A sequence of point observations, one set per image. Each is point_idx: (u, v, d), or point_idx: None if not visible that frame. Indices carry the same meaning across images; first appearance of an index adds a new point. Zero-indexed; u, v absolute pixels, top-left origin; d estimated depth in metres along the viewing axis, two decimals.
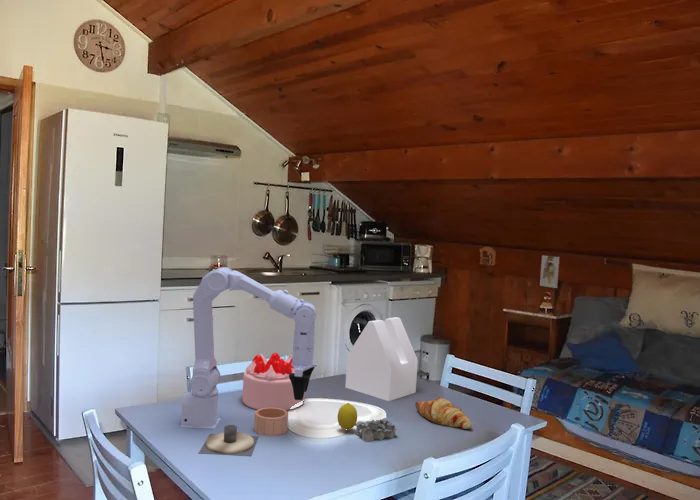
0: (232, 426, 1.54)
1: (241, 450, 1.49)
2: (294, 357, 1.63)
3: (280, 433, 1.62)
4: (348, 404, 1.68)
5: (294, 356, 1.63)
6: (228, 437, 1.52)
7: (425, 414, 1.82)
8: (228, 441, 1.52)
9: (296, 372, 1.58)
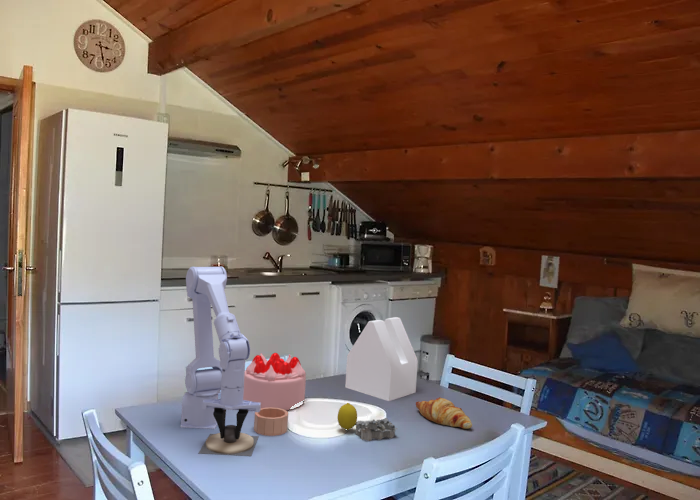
0: (232, 426, 1.54)
1: (241, 450, 1.49)
2: None
3: (280, 433, 1.62)
4: (348, 404, 1.68)
5: None
6: (228, 437, 1.52)
7: (425, 414, 1.82)
8: (228, 441, 1.52)
9: None
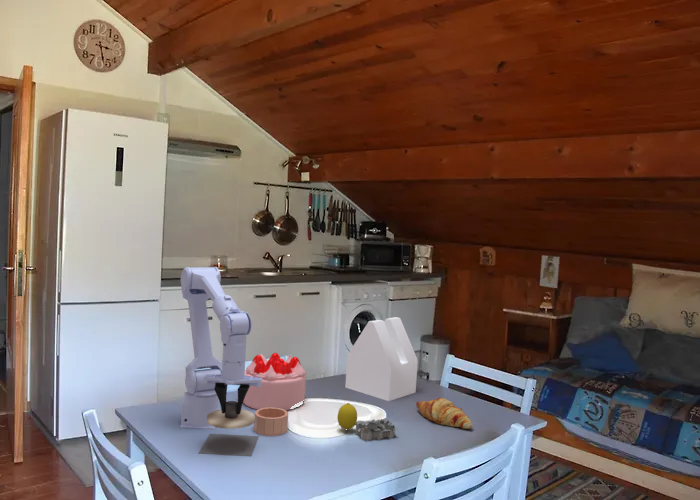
0: (233, 402, 1.53)
1: (242, 425, 1.48)
2: None
3: (280, 433, 1.62)
4: (348, 404, 1.68)
5: None
6: (229, 413, 1.51)
7: (426, 414, 1.82)
8: (229, 417, 1.51)
9: None
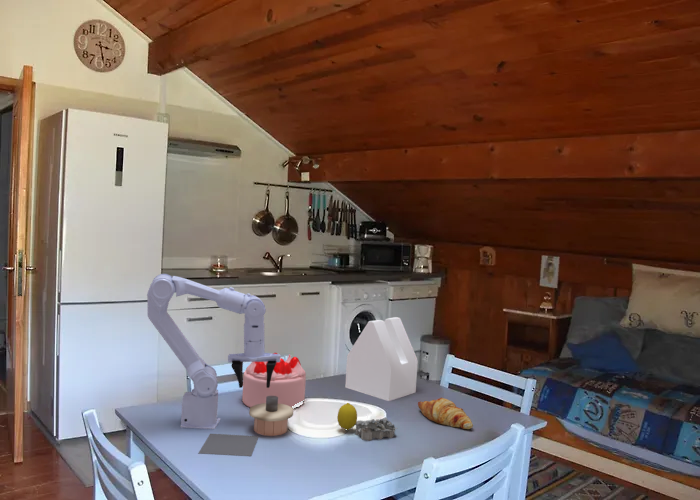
0: (273, 396, 1.65)
1: (282, 418, 1.60)
2: None
3: (280, 433, 1.62)
4: (348, 404, 1.68)
5: None
6: (270, 406, 1.63)
7: (427, 414, 1.82)
8: (270, 410, 1.63)
9: None
